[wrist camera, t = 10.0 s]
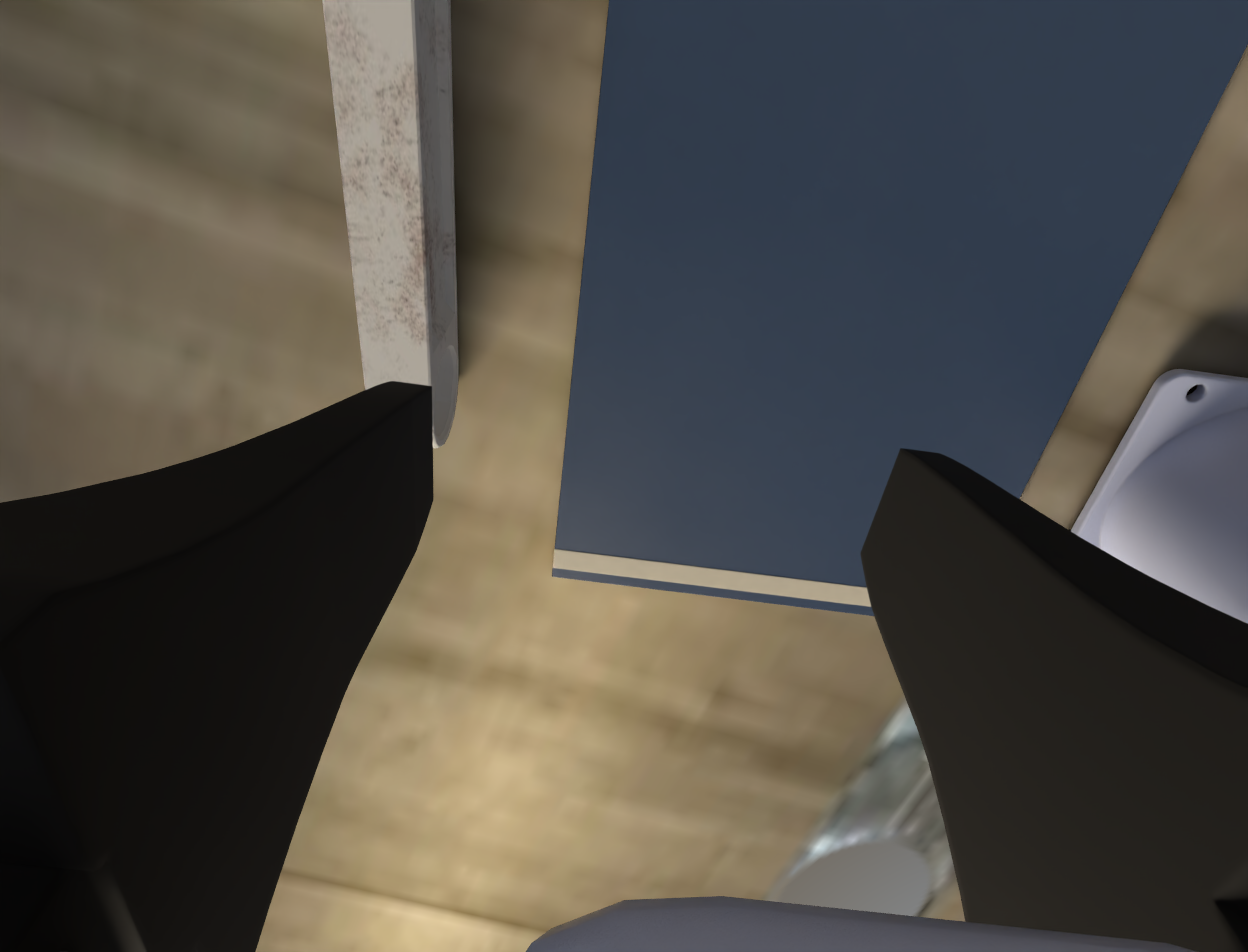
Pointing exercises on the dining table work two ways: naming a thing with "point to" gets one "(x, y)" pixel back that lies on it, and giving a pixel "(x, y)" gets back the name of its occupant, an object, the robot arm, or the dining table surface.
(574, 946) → the robot arm
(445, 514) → the dining table surface
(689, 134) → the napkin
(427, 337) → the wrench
